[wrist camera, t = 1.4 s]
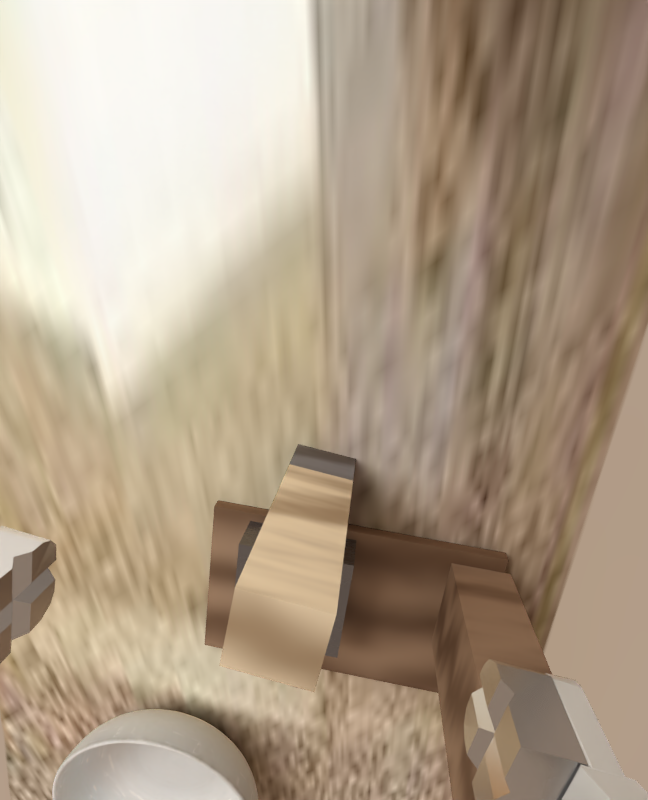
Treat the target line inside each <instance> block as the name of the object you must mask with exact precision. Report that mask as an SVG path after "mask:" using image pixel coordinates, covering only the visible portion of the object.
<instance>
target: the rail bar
mask: <svg viewBox="0 0 648 800" xmlns="http://www.w3.org/2000/svg"><path fill="white" fill-rule="evenodd" d="M355 462H356V459H354V458H350V457H346V456H342V455H338V454H334V453H330V452H326V451H322V450H318V449H315V448H311V447H307V446H303V445H299V444H298V446H297V448H296V451H295V453H294V455H293V457H292V460H291V462H290V464H289V466H288V469H287V471H286V473H285V476H284V478H283V480H282V482H281V485H280V487H279V489H278V491H277V494H276V496H275V498H274V500H273V503H272V505H271V507H270V509H269V512H268V514H267V516H266V518H265V521H264V523H263V525H262V527H261V530H260V532H259V534H258V537H257V539H256V541H255V543H254V546H253V548H252V550H251V552H250V555H249V557H248V559H247V561H246V564H245V566H244V568H243V570H242V573H241V575H240V577H239V579H238V582H237V584H236V586H235V590H234V595H233V600H232V605H231V610H230V615H229V620H228V625H227V630H226V635H225V640H224V645H223V650H222V655H221V660H220V665H219V666H222V667H226V668H230V669H233V670H237V671H240V672H244V673H247V674H251V675H255V676H258V677H262V678H265V679H269V680H273V681H276V682H280V683H283V684H287V685H290V686H294V687H298V688H301V689H305V690H308V691H312V692H314V691H315V687H316V684H317V681H318V677H319V674H320V670H321V667H322V663H323V660H324V656H325V653H326V649H327V646H328V642H329V639H330V636H331V632H332V629H333V625H334V622H335V618H336V615H337V607H338V599H339V591H340V583H341V575H342V566H343V558H344V550H345V542H346V534H347V526H348V518H349V510H350V502H351V494H352V486H353V478H354V470H355Z"/></svg>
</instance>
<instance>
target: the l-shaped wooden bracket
mask: <svg viewBox="0 0 648 800" xmlns="http://www.w3.org/2000/svg"><path fill="white" fill-rule="evenodd" d="M268 512H269V510H267V509H262V508H256V507H251V506H246V505H240V504H235V503H229V502H224V501H218V502H217V503H216V505H215V507H214V521H213V535H212V549H211V563H210V577H209V591H208V606H207V620H206V634H205V645H208V646H213V647H218V648H223V645H224V640H225V635H226V630H227V625H228V620H229V615H230V610H231V605H232V600H233V595H234V590H235V586H236V584H237V582H238V579H239V577H240V575H241V573H242V570H243V568H244V566H245V564H246V561H247V559H248V557H249V555H250V552H251V550H252V548H253V546H254V543H255V541H256V539H257V537H258V534H259V532H260V530H261V527H262V525H263V523H264V521H265V518H266V516H267V514H268ZM508 561H509V560H508V557H507V555H506V553H503V552H498V551H492V550H487V549H481V548H476V547H470V546H465V545H459V544H454V543H448V542H443V541H437V540H432V539H426V538H421V537H415V536H410V535H404V534H399V533H393V532H388V531H383V530H377V529H372V528H366V527H361V526H355V525H350V524H348V526H347V534H346V542H345V550H344V558H343V566H342V575H341V583H340V591H339V599H338V607H337V615H336V618H335V622H334V625H333V629H332V632H331V636H330V639H329V642H328V646H327V649H326V653H325V656H324V660H323V663H322V667H321V669H325V670H330V671H335V672H340V673H345V674H350V675H354V676H359V677H364V678H369V679H374V680H379V681H384V682H388V683H393V684H398V685H403V686H408V687H413V688H418V689H423V690H427V691H432V692H437V693H439V700H440V708H441V716H442V723H443V731H444V738H445V746H446V753H447V761H448V768H449V776H450V783H451V791H452V798H453V800H475V797H474V791H473V786H472V781H473V779H474V777H475V774H476V772H477V770H478V769H477V768H476V767H475V765H474V764H473V762H472V761H471V760H470V758H469V757H468V755H467V752H466V746H465V740H464V720H465V712H466V707H467V704H468V702H469V699H470V696H471V694H472V693H473V692H475V691H477V690H478V689H480V688H482V683H481V679H480V673H481V670H482V668H483V666H484V664H485V663H486V662H487V661H488V660H489V659H493V660H496V661H500V662H504V663H508V664H512V665H516V666H519V667H523V668H527V669H531V670H535V671H539V672H542V673H544V674H545V673H548V674H552V673H551V671H550V668H549V666H548V664H547V661H546V658H545V656H544V654H543V651H542V649H541V646H540V644H539V641H538V639H537V637H536V634H535V632H534V629H533V627H532V624H531V622H530V620H529V617H528V615H527V612H526V610H525V607H524V605H523V603H522V600H521V598H520V595H519V593H518V590H517V588H516V586H515V583H514V581H513V578H512V576H511V574H507V573H505V571H506V567H507V564H508Z"/></svg>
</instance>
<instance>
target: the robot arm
mask: <svg viewBox="0 0 648 800" xmlns="http://www.w3.org/2000/svg"><path fill="white" fill-rule="evenodd" d="M55 560H56V544H55V543H53V542H52V541H51V540H48V539H44V538H41V537H38V536H34V535H31V534H27V533H24V532H21V531H17V530H14V529H11V528H7V527H4V526H0V663H1V662H2V661H3V660H4V659H5V658H6V657H7V656H8V655H9V654H10V653H11V642H12V640H13V639H15V638H18V637H20V636H22V635H25V634H27V633H29V632H30V631H31V630H32V629H33V628H34V627H35V626H36V625H37V624H38V622H39V621H40V620H41V619H42V617H43V615H44V614H45V612H46V610H47V609H48V607H49V605H50V603H51V600H52V596H53V593H54V587H55V579H54V577H53V575H52V574H51V572H50V570H49V569H48V567H49V566H50V565H51V564H52V563H53V562H54V561H55ZM480 679H481V683H482V688H480V689H478V690H477V691H475V692H473V693H472V694H471V696H470V699H469V702H468V704H467V707H466V712H465V720H464V740H465V746H466V752H467V755H468V757H469V758H470V760H471V761H472V762H473V764H474V765H475V767H476V768H477V769H478V770H477V772H476V774H475V777H474V779H473V781H472V786H473V791H474V797H475V800H648V793H647V792H646V791H645V790H644V789H643V788H642V787H641V786H640V785H639V784H638V783H637V782H636V780H633V779H629V778H626V777H625V776H624V773H623V772H622V769H621V767H620V765H619V763H618V761H617V759H616V757H615V755H614V753H613V751H612V749H611V747H610V745H609V743H608V741H607V738H606V736H605V734H604V732H603V730H602V728H601V726H600V724H599V722H598V720H597V718H596V716H595V713H594V711H593V709H592V707H591V705H590V703H589V701H588V699H587V697H586V695H585V693H584V691H583V689H582V687H581V686H580V685H579V684H578V683H577V682H576V681H575V680H572V679H568V678H564V677H560V676H556V675H552V674H548V673H545V674H544V673H542V672H539V671H535V670H531V669H527V668H523V667H519V666H516V665H512V664H508V663H504V662H500V661H496V660H493V659H489V660H488V661H487V662H486V663H485V664H484V666H483V668H482V670H481V673H480Z"/></svg>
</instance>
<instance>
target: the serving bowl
mask: <svg viewBox="0 0 648 800" xmlns="http://www.w3.org/2000/svg"><path fill="white" fill-rule="evenodd" d="M52 795H53V800H259V799H258V792H257V787H256V783H255V780H254V777H253V774H252V772H251V769H250V767H249V765H248V763H247V761H246V759H245V758H244V756H243V755H242V753H241V752H240V750H239V749H238V748H237V747H236V745H235V744H234V743H233V742H232V741H231V740H230V739H229V738H228V737H227V736H225V735H224V734H223V733H222V732H221V731H219V730H218V729H217V728H215V727H214V726H212V725H210V724H209V723H207V722H205V721H203V720H201V719H199V718H197V717H194V716H191V715H188V714H185V713H182V712H178V711H172V710H164V709H144V710H138V711H133V712H129V713H125V714H122V715H119V716H117V717H115V718H112V719H110V720H108V721H107V722H105V723H103V724H101V725H100V726H98V727H97V728H95V729H94V730H93V731H92V732H90V733H89V734H88V735H87V736H86V737H85V738H84V739H83V740H82V741H81V742H80V743H79V744H78V745H77V746H76V747H75V748H74V749H73V750H72V752H71V753H70V754H69V755H68V757H67V758H66V759H65V761H64V762H63V763H62V764H61V766H60V768H59V769H58V771H57V773H56V776H55V779H54V783H53V791H52Z"/></svg>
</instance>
